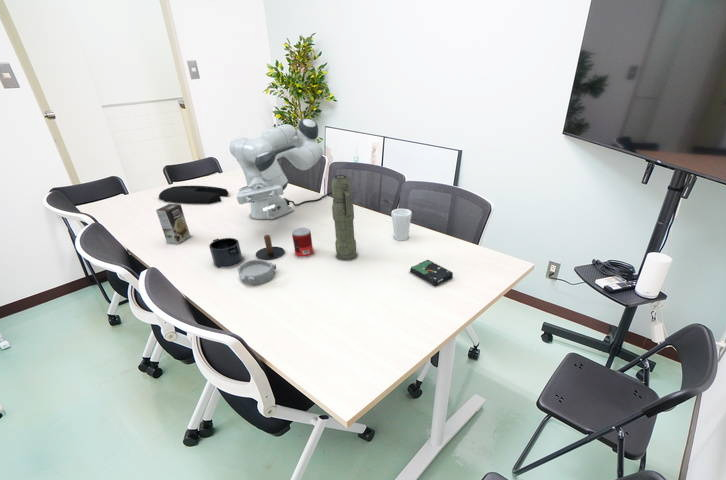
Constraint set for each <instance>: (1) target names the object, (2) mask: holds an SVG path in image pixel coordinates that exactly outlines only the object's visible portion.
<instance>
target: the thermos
mask: <svg viewBox="0 0 726 480" xmlns="http://www.w3.org/2000/svg"><path fill="white" fill-rule="evenodd" d="M351 185H352V184H351V181H350V178H349V177H348V176H347V175H345V174H337V175H334V176H333V177H332V180H331V193H332V194H331V195H332V205H331V211H332V212H331V214H332V219H333V222H334V230H335V241H334V243H335V252H336V258H337V259H338V260H340V261H351V260H354V259H356V258H357V241H356V238H355V228H354V227H355V225H354V219H355V210H354V204H353V202H352V201H353V200H352V188H351V187H352V186H351Z"/></svg>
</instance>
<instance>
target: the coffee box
mask: <svg viewBox="0 0 726 480" xmlns="http://www.w3.org/2000/svg"><path fill="white" fill-rule="evenodd" d="M155 212H156V214H157V218H158V220H159V223H160V226H161V230H162V233H163V235H164V238H165V241H166V243H167V244H174V245H179V244H181V243H182V242H184V241H185V240H188V239H189V238H190V237H191V233H190V230H189V226H188V224H187V221H186V217H185V214H184V211H183V207H182V205H181V203H168V204H166V205H163V206H162V207H160V208H157V209H155Z"/></svg>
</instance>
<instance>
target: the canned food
mask: <svg viewBox="0 0 726 480" xmlns="http://www.w3.org/2000/svg"><path fill="white" fill-rule="evenodd" d="M291 236H292V242H293V247H294V253H295V255H296V256H297V257H301V258H306V257H309V256H311V255H313V253H314V248H313V247H314V246H313V240H312V232H311V229H310V228H309V227H298V228H295V229H293V230H292V232H291Z"/></svg>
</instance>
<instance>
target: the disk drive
mask: <svg viewBox="0 0 726 480" xmlns="http://www.w3.org/2000/svg"><path fill="white" fill-rule="evenodd" d="M409 269H410V273H411V274H413V275H415V276H416V277H418V278H420V279H422V280H423V281H425V282H426V283H428V284H431V285H432V286H434V287H435V286H438V285H440V284H443V283H445V282H447V281H449V280H450V279H451V280H452V279H453V277H454V272H452V271H450V270H448V269H447V268H444V267H443V266H440V264H437V263H435V262H434V261H432V260H430V259H426V260H423V261H421V262H419V263H417V264H415V265H413V266H411V267H410V268H409Z"/></svg>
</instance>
